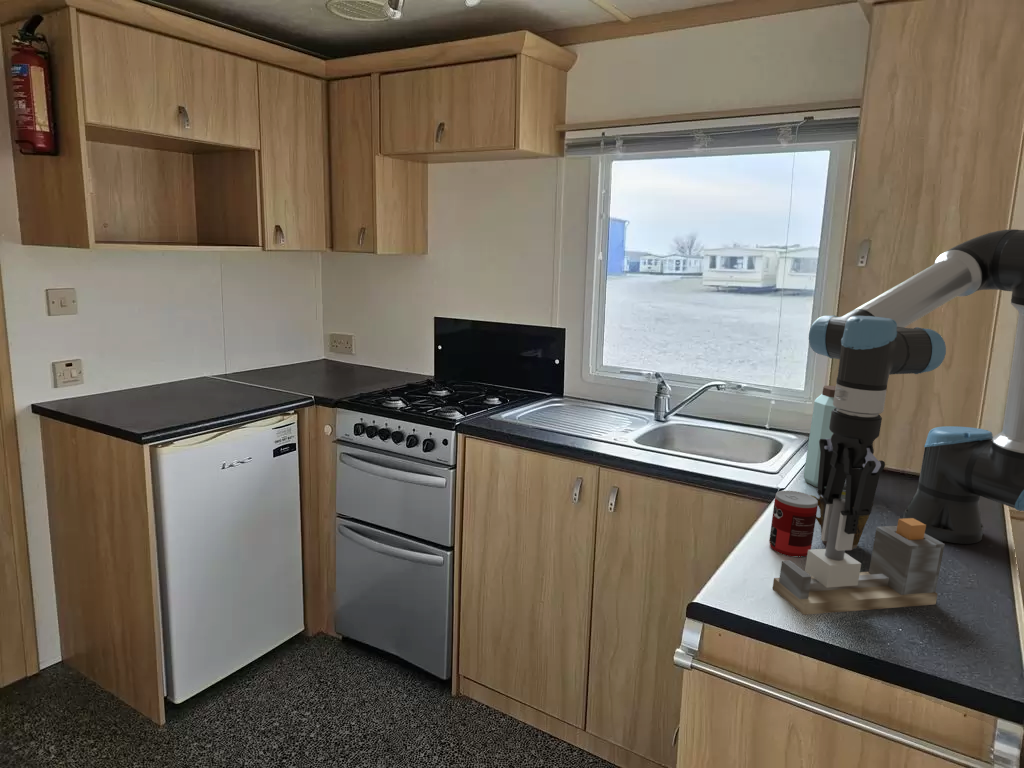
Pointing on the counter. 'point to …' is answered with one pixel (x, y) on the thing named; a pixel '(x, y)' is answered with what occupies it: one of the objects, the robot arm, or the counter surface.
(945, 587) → the counter surface
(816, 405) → the water bottle
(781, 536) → the canned food
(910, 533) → the button
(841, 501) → the carriage
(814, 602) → the rail stand
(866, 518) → the ceramic cup
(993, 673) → the counter surface
